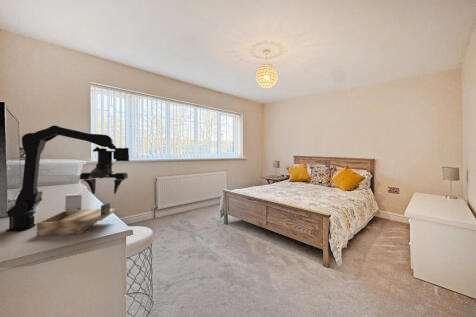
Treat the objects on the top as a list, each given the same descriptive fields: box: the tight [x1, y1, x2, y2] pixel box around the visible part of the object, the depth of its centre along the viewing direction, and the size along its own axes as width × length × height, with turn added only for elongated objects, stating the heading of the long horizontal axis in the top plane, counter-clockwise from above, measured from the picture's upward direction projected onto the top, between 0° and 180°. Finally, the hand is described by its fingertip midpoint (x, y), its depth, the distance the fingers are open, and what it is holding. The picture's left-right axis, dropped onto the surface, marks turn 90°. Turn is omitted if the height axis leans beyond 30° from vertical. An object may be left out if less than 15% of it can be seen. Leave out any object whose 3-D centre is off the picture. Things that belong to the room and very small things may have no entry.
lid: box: [60, 202, 118, 222], centre depth 89 cm, size 14×16×5 cm
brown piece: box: [36, 210, 98, 237], centre depth 88 cm, size 14×16×5 cm
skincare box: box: [64, 192, 83, 211], centre depth 98 cm, size 6×4×12 cm
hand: (104, 193), depth 99 cm, fingers open, 9 cm apart
